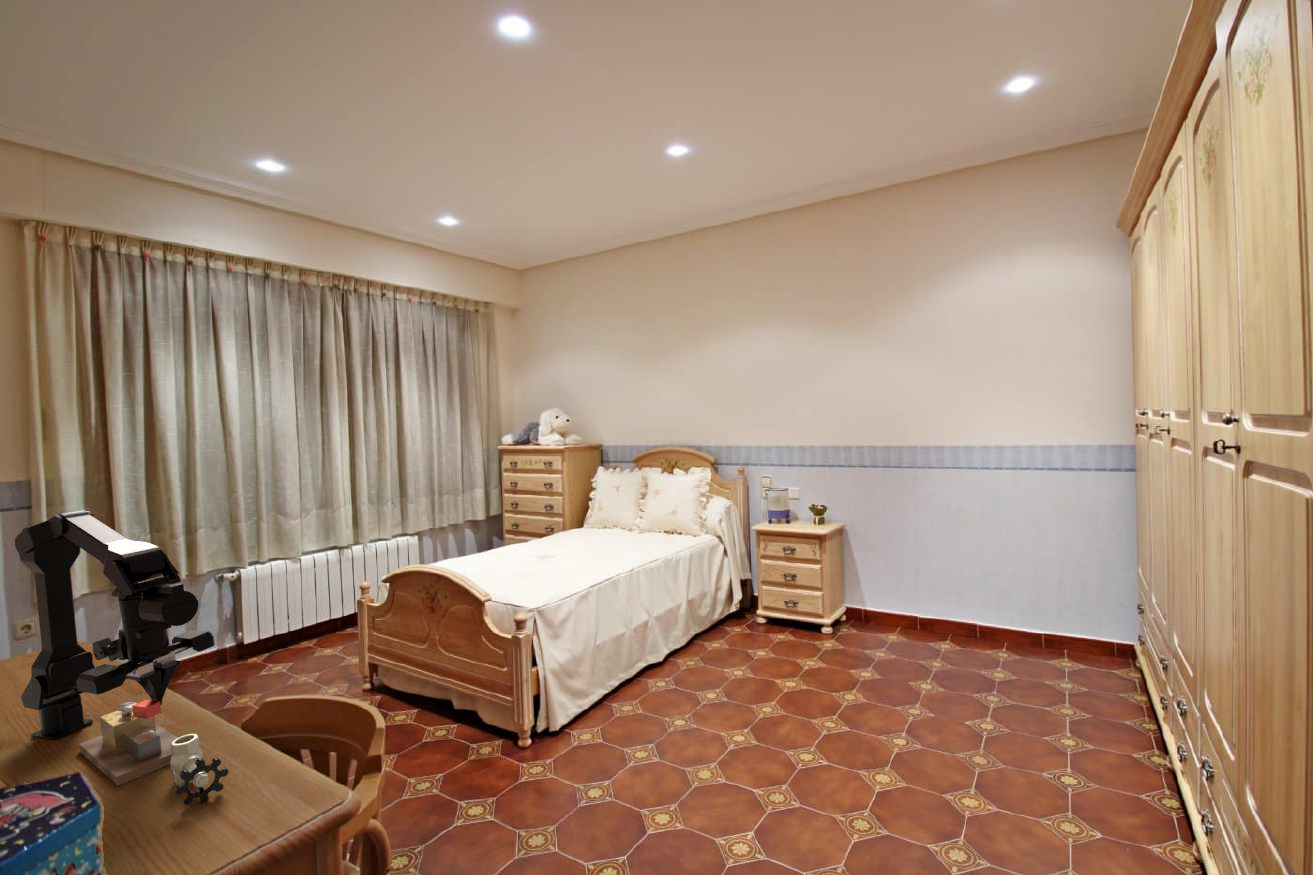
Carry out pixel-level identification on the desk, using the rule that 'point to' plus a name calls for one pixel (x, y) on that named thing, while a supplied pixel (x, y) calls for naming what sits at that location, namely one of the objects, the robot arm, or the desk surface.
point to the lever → (142, 708)
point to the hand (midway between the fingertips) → (157, 705)
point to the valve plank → (126, 758)
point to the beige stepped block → (130, 735)
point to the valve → (193, 769)
